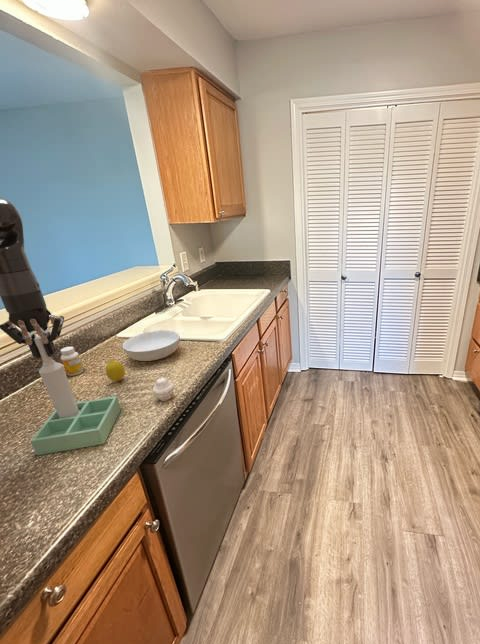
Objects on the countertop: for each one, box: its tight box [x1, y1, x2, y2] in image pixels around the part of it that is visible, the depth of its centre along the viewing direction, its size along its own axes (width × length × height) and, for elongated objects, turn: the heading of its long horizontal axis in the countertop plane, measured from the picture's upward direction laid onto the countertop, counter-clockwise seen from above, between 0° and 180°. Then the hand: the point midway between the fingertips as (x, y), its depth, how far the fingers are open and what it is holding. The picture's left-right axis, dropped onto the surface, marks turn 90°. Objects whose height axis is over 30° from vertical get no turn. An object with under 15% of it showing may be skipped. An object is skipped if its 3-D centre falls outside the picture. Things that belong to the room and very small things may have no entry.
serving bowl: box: [122, 329, 181, 362], centre depth 128 cm, size 21×21×7 cm
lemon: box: [105, 360, 126, 382], centre depth 110 cm, size 6×6×8 cm
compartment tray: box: [29, 396, 122, 456], centre depth 87 cm, size 15×15×4 cm
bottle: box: [34, 336, 80, 419], centre depth 85 cm, size 5×5×25 cm
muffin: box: [152, 377, 175, 402], centre depth 99 cm, size 6×6×7 cm
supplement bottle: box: [60, 346, 85, 377], centre depth 117 cm, size 5×5×10 cm
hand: (46, 355), depth 82 cm, fingers closed on bottle, 2 cm apart
